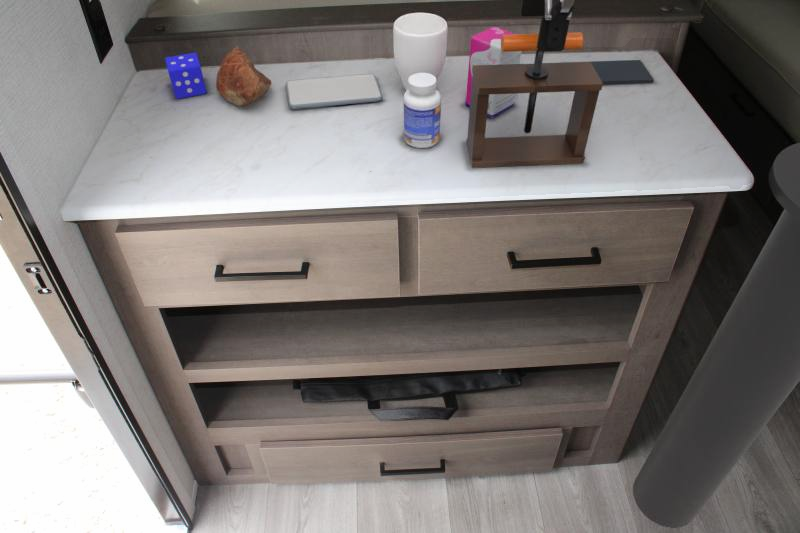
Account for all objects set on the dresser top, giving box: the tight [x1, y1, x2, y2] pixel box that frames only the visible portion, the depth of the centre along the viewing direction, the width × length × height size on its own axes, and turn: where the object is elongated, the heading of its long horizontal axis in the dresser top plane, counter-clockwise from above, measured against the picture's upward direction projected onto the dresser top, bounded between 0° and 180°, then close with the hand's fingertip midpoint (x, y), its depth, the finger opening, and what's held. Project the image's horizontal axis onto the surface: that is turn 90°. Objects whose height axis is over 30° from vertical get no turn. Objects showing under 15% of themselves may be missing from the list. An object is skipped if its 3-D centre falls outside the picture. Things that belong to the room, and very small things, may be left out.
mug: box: [392, 12, 448, 92], centre depth 102 cm, size 12×8×11 cm
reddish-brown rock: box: [215, 45, 272, 107], centre depth 101 cm, size 13×8×10 cm
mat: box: [590, 59, 655, 85], centre depth 108 cm, size 16×7×1 cm, turn 93°
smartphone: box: [285, 73, 383, 110], centre depth 103 cm, size 8×1×15 cm
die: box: [164, 52, 208, 100], centre depth 103 cm, size 5×5×5 cm
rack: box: [465, 61, 604, 169], centre depth 87 cm, size 16×6×12 cm, turn 93°
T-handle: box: [501, 31, 584, 135], centre depth 84 cm, size 10×3×14 cm, turn 93°
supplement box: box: [464, 25, 523, 119], centre depth 97 cm, size 6×6×12 cm
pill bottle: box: [402, 73, 442, 149], centre depth 91 cm, size 5×5×10 cm
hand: (540, 32), depth 79 cm, fingers open, 9 cm apart
